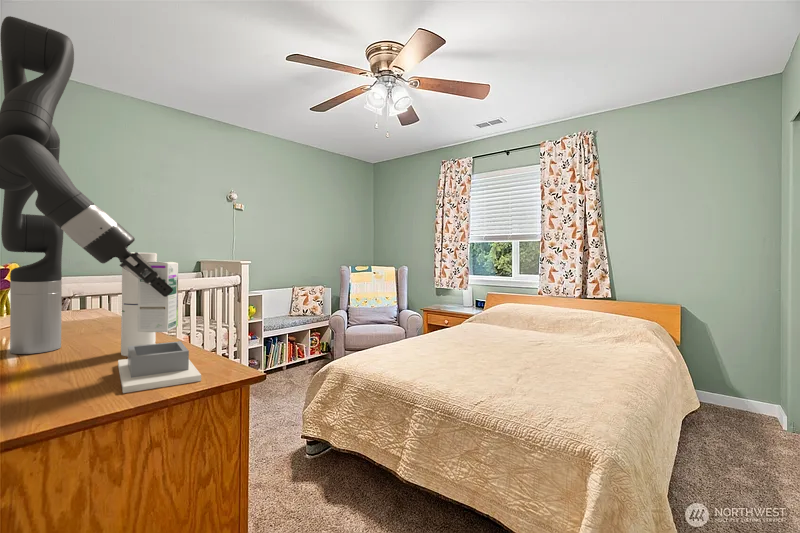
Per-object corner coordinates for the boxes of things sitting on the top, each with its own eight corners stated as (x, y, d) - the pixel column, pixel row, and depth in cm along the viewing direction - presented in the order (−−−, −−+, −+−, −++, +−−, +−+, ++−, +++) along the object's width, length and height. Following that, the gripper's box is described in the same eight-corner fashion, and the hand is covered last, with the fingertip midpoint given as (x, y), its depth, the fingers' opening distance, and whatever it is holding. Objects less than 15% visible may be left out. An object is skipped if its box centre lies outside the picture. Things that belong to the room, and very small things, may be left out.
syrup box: (167, 332, 80) (169, 262, 80) (135, 332, 79) (137, 261, 78) (178, 327, 86) (179, 261, 85) (148, 327, 84) (150, 260, 84)
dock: (118, 365, 87) (118, 342, 86) (183, 357, 95) (184, 336, 94) (122, 393, 71) (123, 365, 71) (201, 380, 79) (201, 355, 79)
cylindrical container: (138, 357, 93) (139, 253, 92) (113, 354, 94) (114, 252, 93) (162, 350, 100) (163, 253, 99) (138, 347, 101) (140, 252, 100)
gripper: (117, 219, 71) (187, 282, 79) (114, 222, 83) (175, 277, 90) (80, 247, 68) (156, 309, 76) (82, 246, 79) (148, 300, 87)
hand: (166, 291), depth 83 cm, fingers closed on syrup box, 7 cm apart
